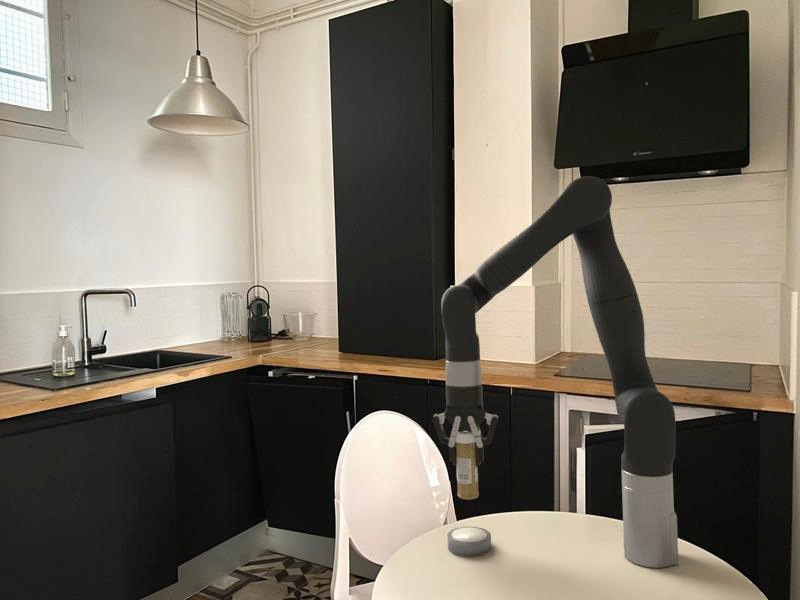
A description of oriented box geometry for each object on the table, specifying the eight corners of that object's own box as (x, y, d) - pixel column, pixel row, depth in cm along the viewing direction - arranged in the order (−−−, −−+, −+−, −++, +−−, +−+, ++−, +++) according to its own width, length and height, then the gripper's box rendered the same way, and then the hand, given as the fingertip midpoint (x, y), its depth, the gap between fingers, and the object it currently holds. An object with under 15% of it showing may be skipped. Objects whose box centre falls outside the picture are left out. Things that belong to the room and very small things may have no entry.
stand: (492, 539, 130) (492, 526, 130) (490, 557, 122) (489, 544, 122) (450, 537, 132) (450, 525, 132) (445, 555, 123) (444, 542, 123)
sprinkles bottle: (483, 496, 126) (481, 431, 126) (468, 501, 123) (465, 435, 123) (467, 491, 130) (465, 428, 130) (452, 496, 127) (449, 432, 127)
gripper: (426, 385, 124) (429, 469, 124) (497, 384, 121) (501, 470, 121) (432, 379, 131) (435, 458, 132) (499, 378, 128) (502, 459, 129)
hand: (466, 463), depth 126 cm, fingers closed on sprinkles bottle, 4 cm apart
